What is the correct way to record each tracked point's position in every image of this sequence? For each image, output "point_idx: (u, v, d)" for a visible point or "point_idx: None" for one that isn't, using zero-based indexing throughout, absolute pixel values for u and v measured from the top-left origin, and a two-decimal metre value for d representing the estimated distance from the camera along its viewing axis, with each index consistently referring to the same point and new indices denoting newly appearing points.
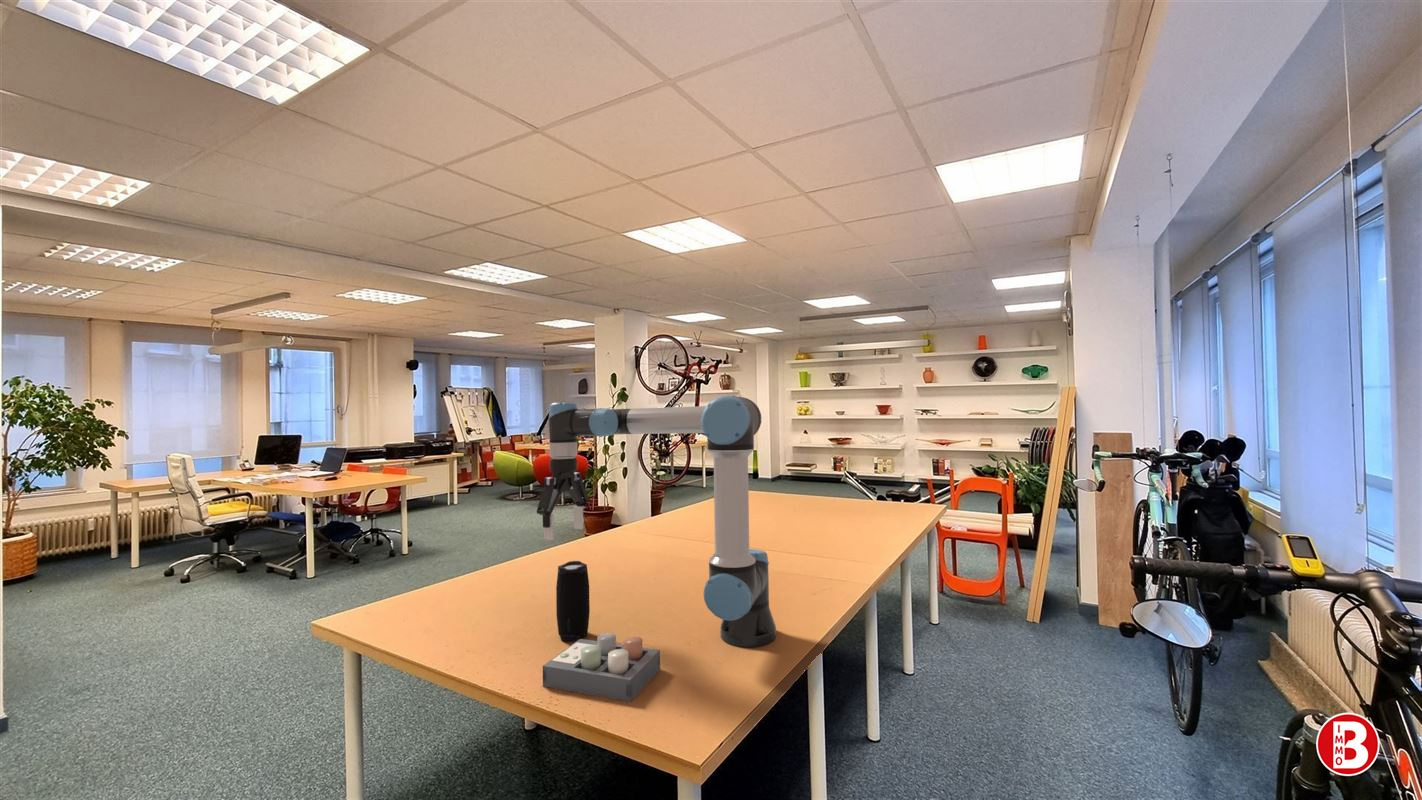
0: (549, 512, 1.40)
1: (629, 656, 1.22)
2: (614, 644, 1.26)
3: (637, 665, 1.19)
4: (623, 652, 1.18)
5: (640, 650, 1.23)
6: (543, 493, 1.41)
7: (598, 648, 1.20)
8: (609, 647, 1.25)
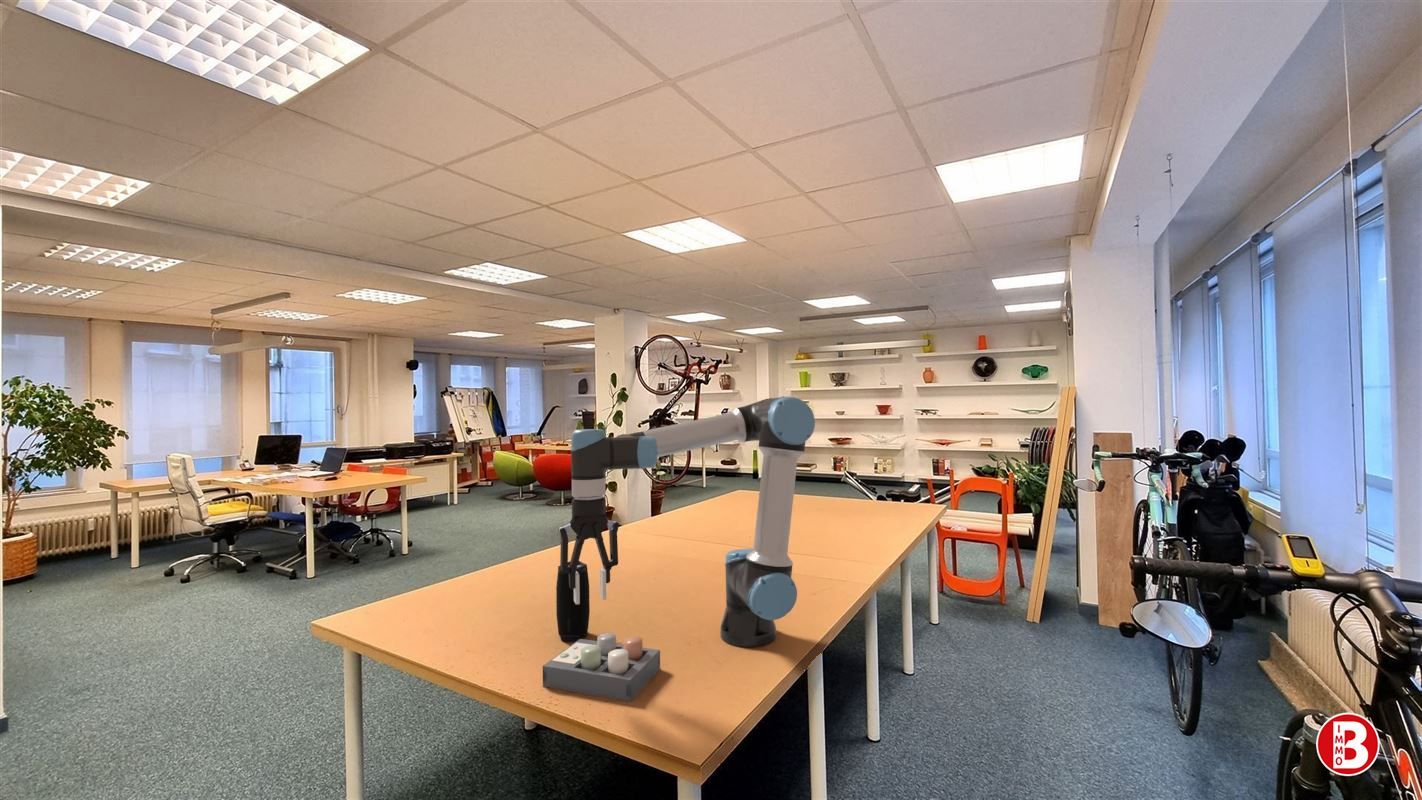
0: (571, 571, 1.17)
1: (629, 656, 1.22)
2: (614, 644, 1.26)
3: (637, 665, 1.19)
4: (623, 652, 1.18)
5: (640, 650, 1.23)
6: None
7: (598, 648, 1.20)
8: (609, 647, 1.25)
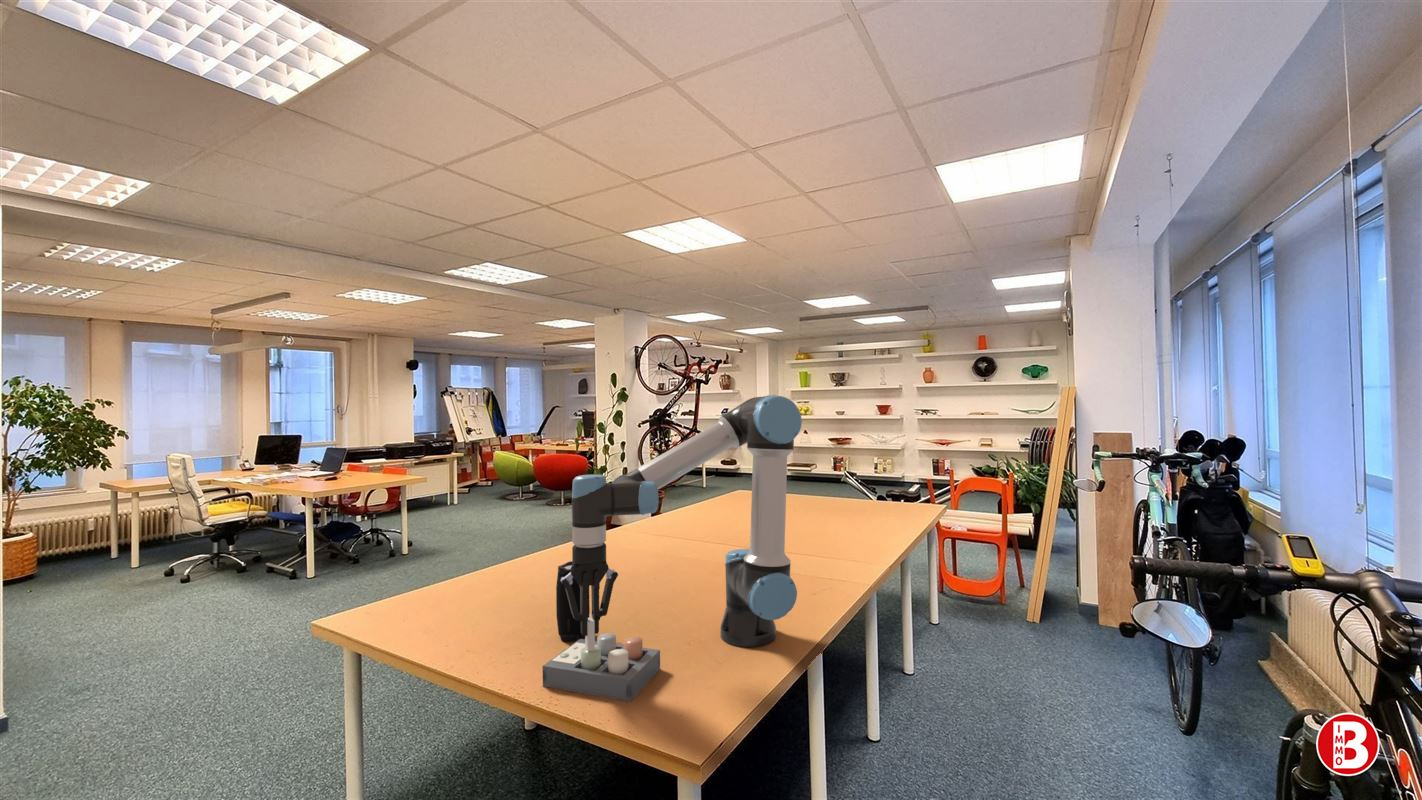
0: (583, 619, 1.18)
1: (629, 656, 1.22)
2: (614, 644, 1.26)
3: (637, 665, 1.19)
4: (623, 652, 1.18)
5: (640, 650, 1.23)
6: (567, 596, 1.19)
7: (598, 648, 1.20)
8: (609, 647, 1.25)
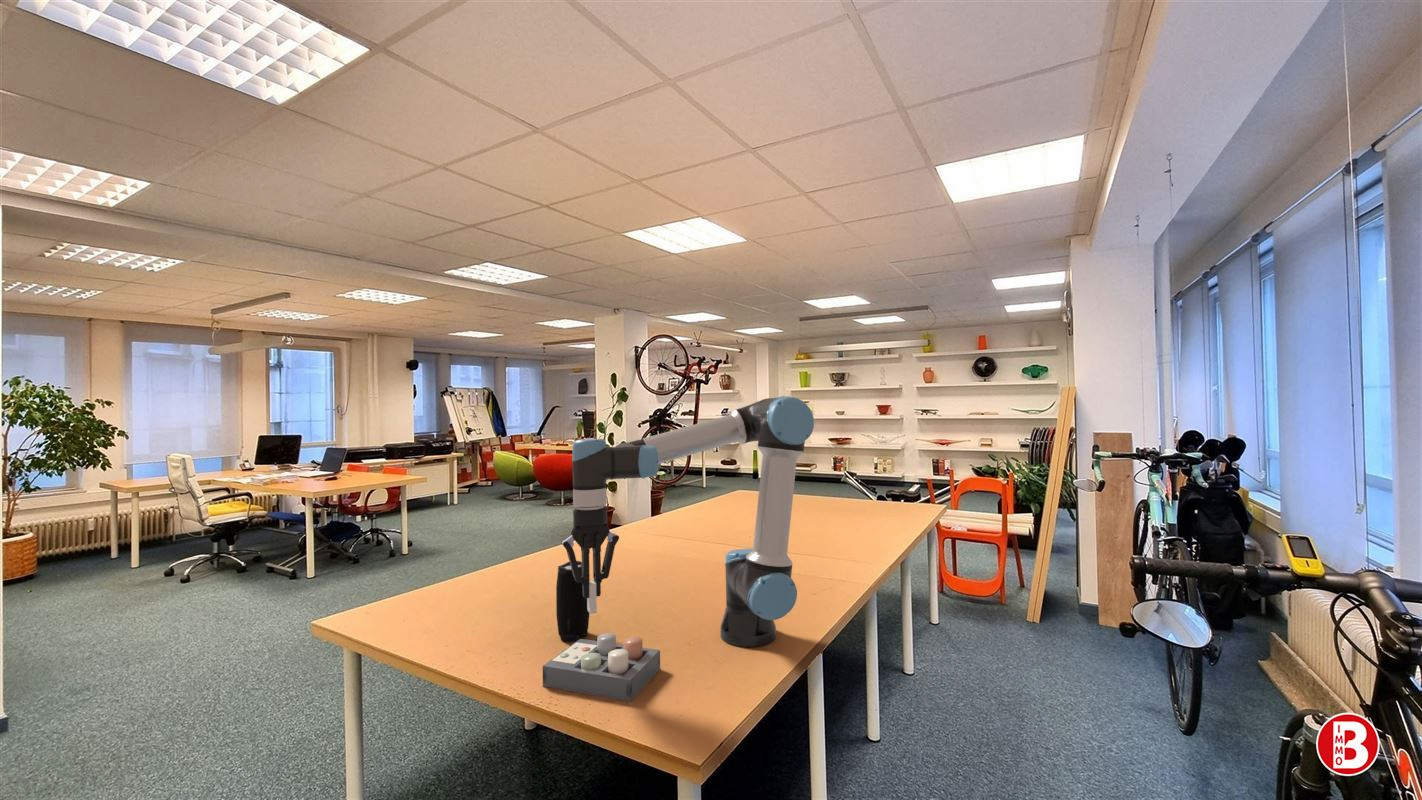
0: (585, 582, 1.19)
1: (629, 656, 1.22)
2: (614, 644, 1.26)
3: (637, 665, 1.19)
4: (623, 652, 1.18)
5: (640, 650, 1.23)
6: (569, 559, 1.19)
7: (598, 656, 1.20)
8: (609, 647, 1.25)
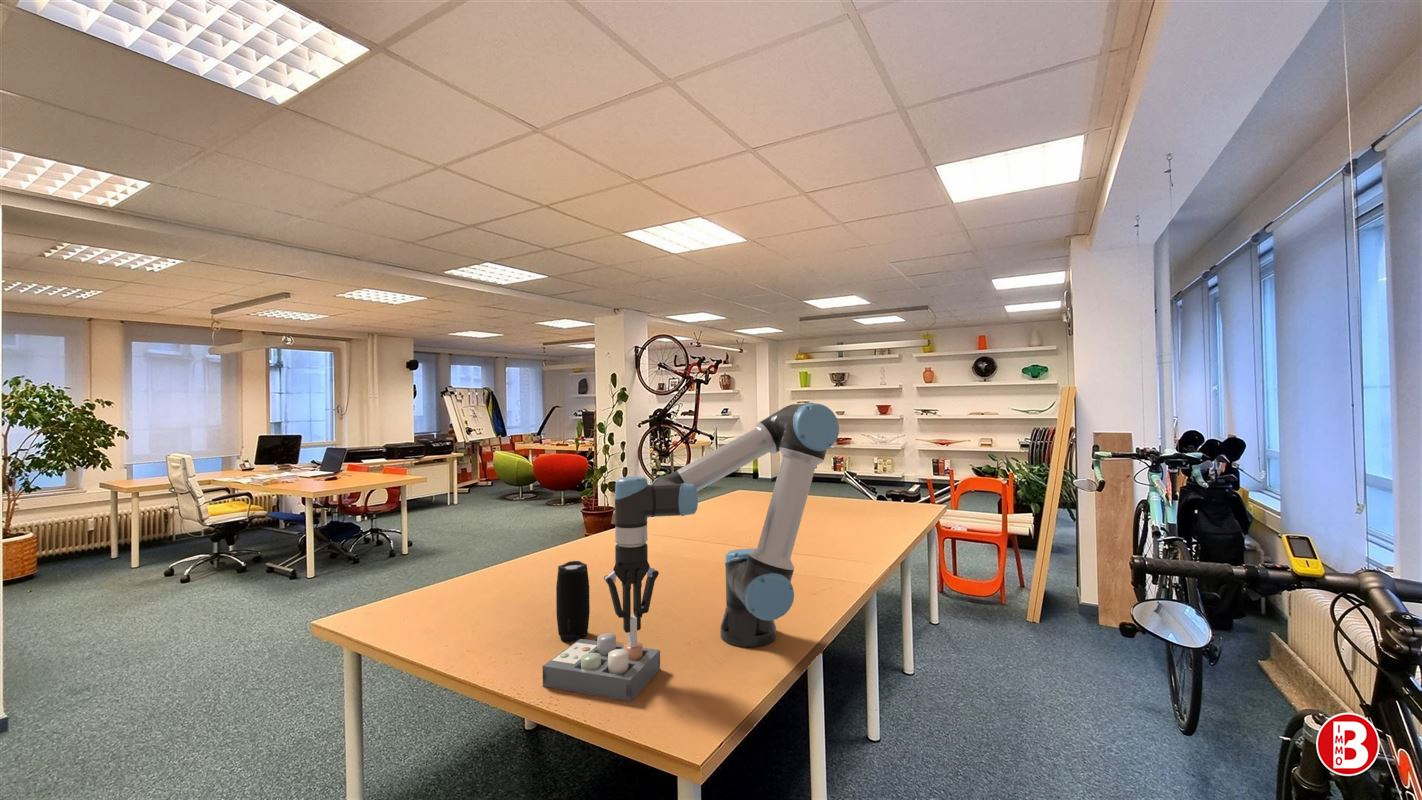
0: (626, 616, 1.23)
1: None
2: (614, 644, 1.26)
3: (637, 665, 1.19)
4: (623, 652, 1.18)
5: (640, 655, 1.23)
6: (611, 594, 1.23)
7: (598, 656, 1.20)
8: (609, 647, 1.25)
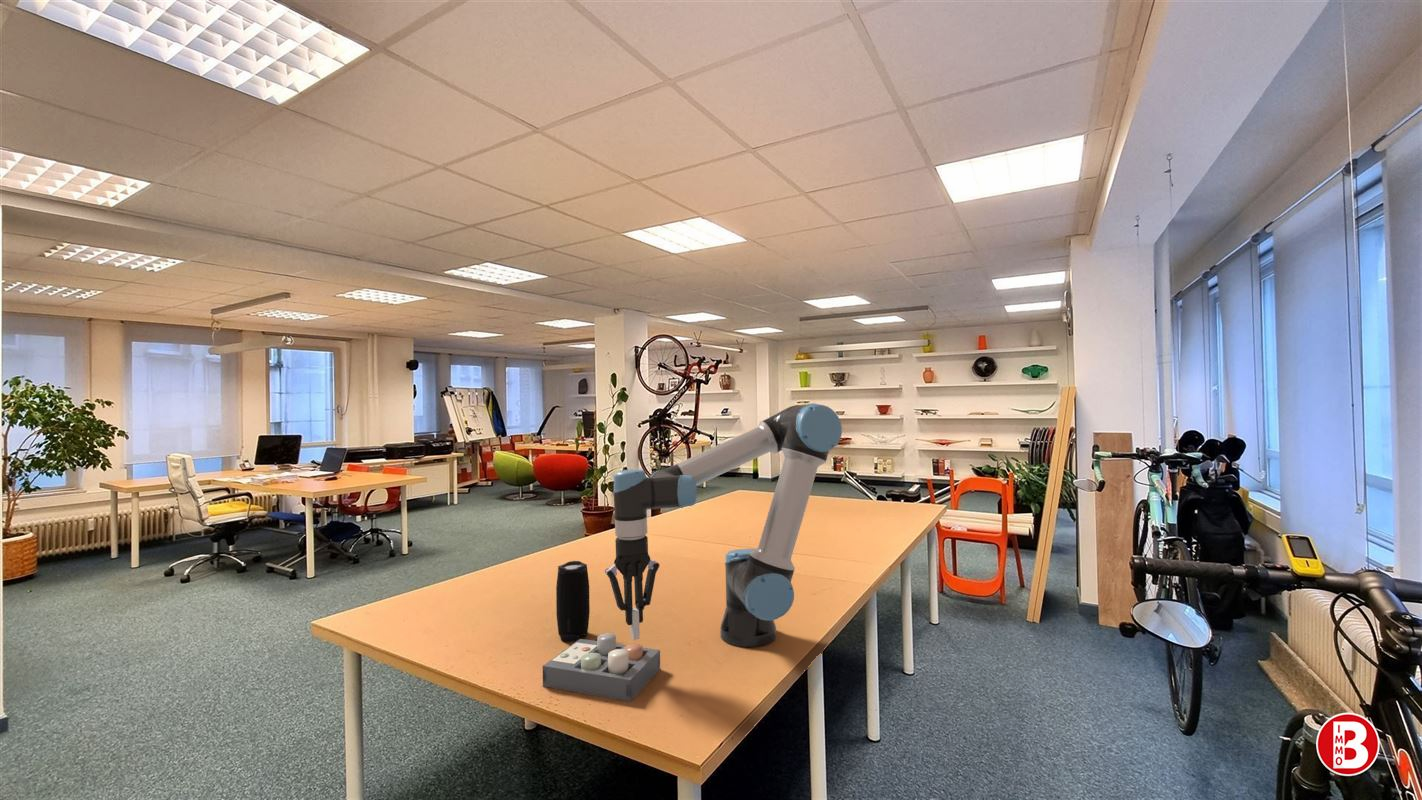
0: (628, 609, 1.23)
1: None
2: (614, 644, 1.26)
3: (637, 665, 1.19)
4: (623, 652, 1.18)
5: (640, 657, 1.23)
6: (612, 587, 1.23)
7: (598, 656, 1.20)
8: (609, 647, 1.25)
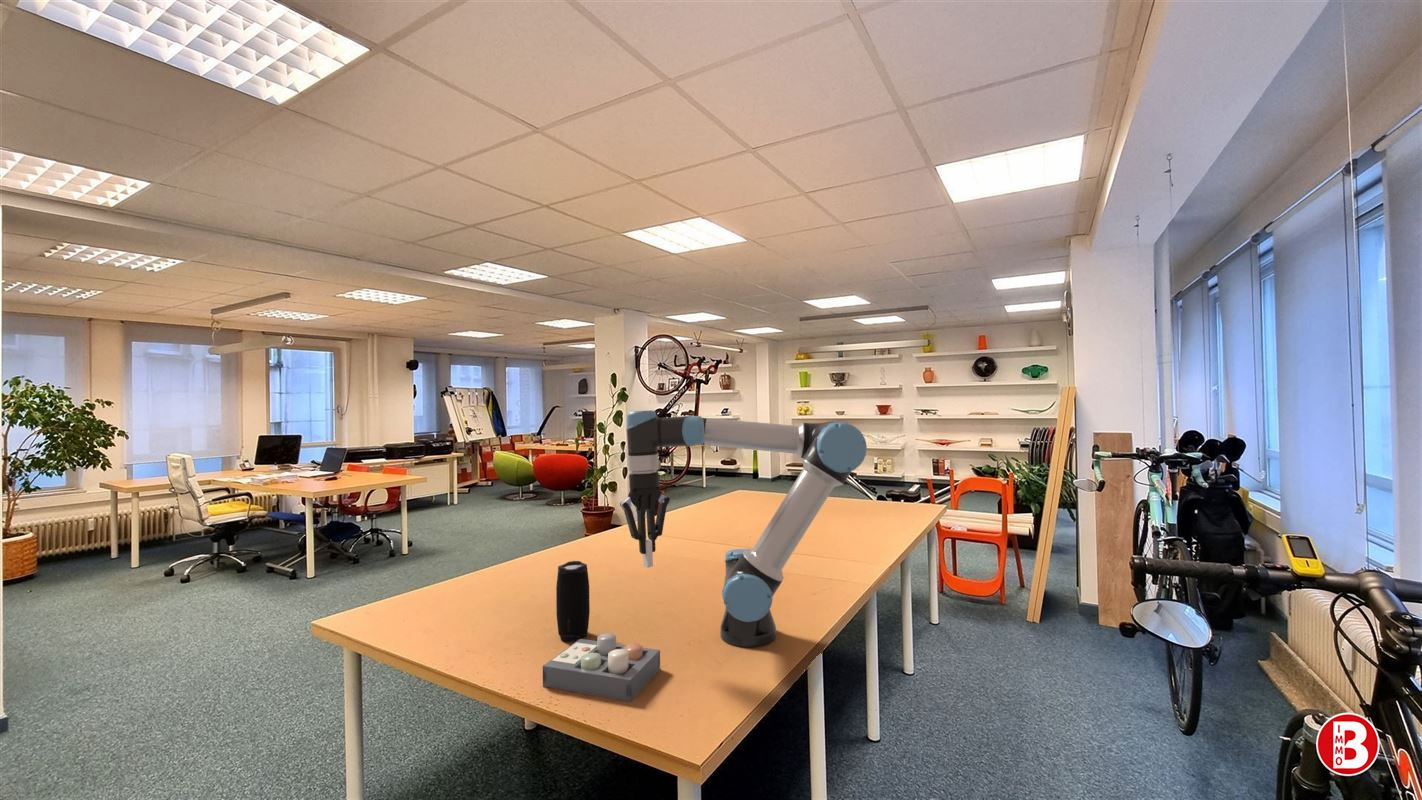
0: (642, 538, 1.32)
1: None
2: (614, 644, 1.26)
3: (637, 665, 1.19)
4: (623, 652, 1.18)
5: (640, 657, 1.23)
6: (627, 519, 1.32)
7: (598, 656, 1.20)
8: (609, 647, 1.25)
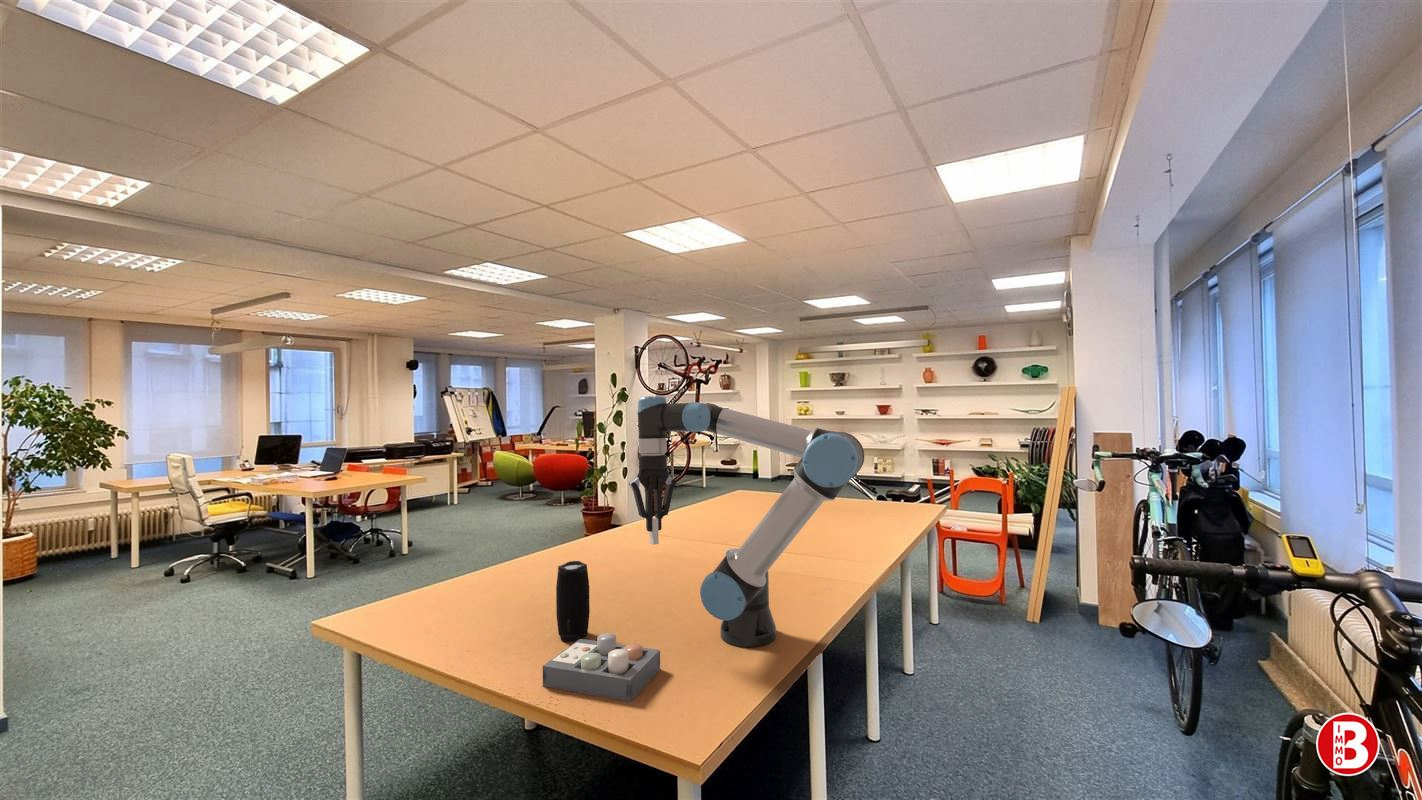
0: (649, 517, 1.39)
1: None
2: (614, 644, 1.26)
3: (637, 665, 1.19)
4: (623, 652, 1.18)
5: (640, 657, 1.23)
6: (635, 498, 1.40)
7: (598, 656, 1.20)
8: (609, 647, 1.25)
